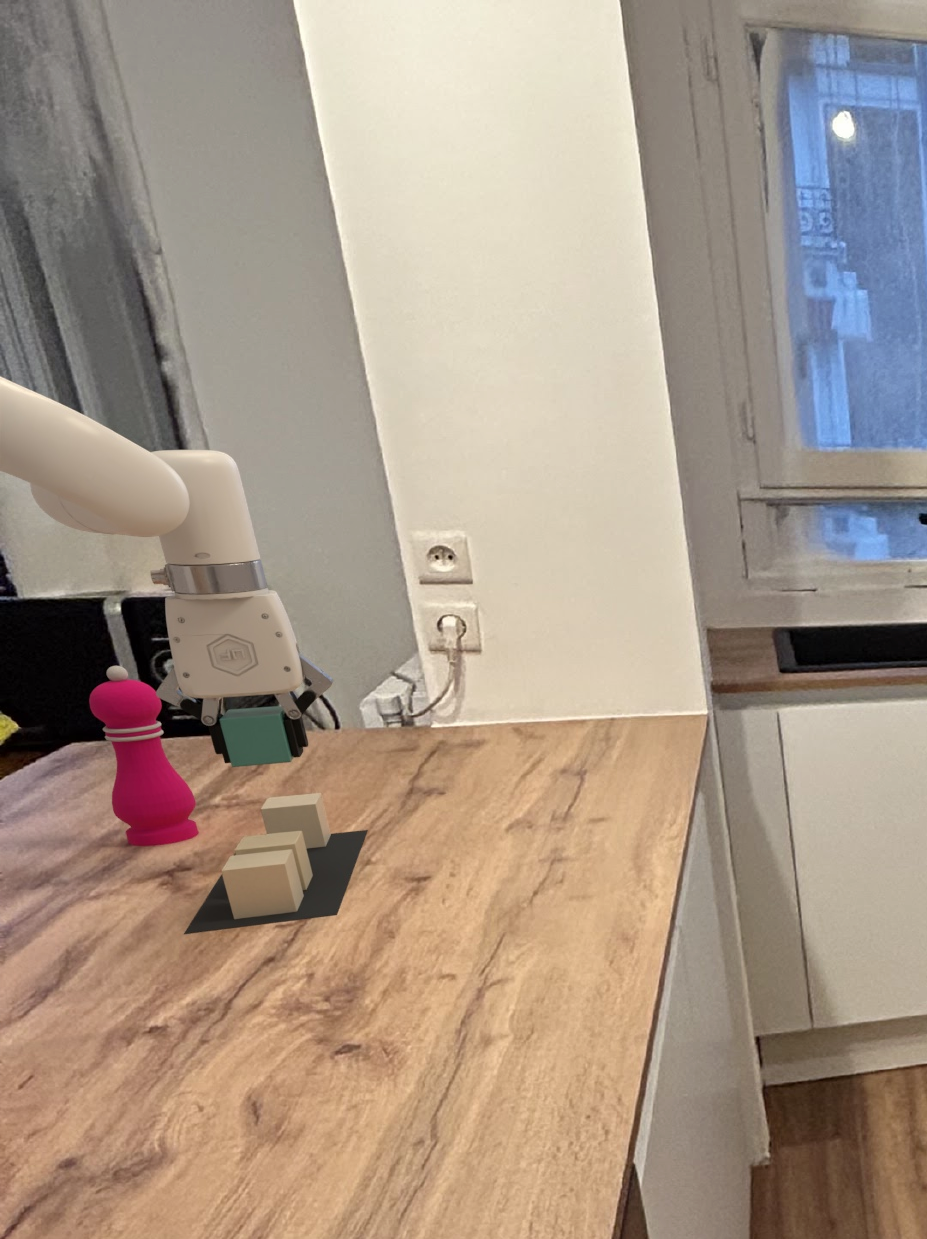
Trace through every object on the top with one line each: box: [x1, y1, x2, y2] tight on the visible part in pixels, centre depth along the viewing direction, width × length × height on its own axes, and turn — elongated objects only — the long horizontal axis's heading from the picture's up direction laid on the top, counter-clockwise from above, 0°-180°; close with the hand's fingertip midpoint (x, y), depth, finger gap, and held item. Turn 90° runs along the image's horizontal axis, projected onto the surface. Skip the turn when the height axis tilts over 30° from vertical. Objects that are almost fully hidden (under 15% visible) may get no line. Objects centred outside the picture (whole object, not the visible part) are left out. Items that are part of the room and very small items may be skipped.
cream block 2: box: [233, 831, 313, 890], centre depth 138 cm, size 5×5×5 cm
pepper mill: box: [88, 665, 199, 847], centre depth 150 cm, size 7×7×20 cm
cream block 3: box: [220, 849, 304, 919], centre depth 133 cm, size 5×5×5 cm
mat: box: [183, 829, 369, 935], centre depth 142 cm, size 12×31×1 cm, turn 28°
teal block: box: [220, 705, 294, 768], centre depth 141 cm, size 5×5×5 cm
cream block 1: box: [260, 792, 332, 849], centre depth 152 cm, size 5×5×5 cm
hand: (264, 755), depth 141 cm, fingers closed on teal block, 5 cm apart
